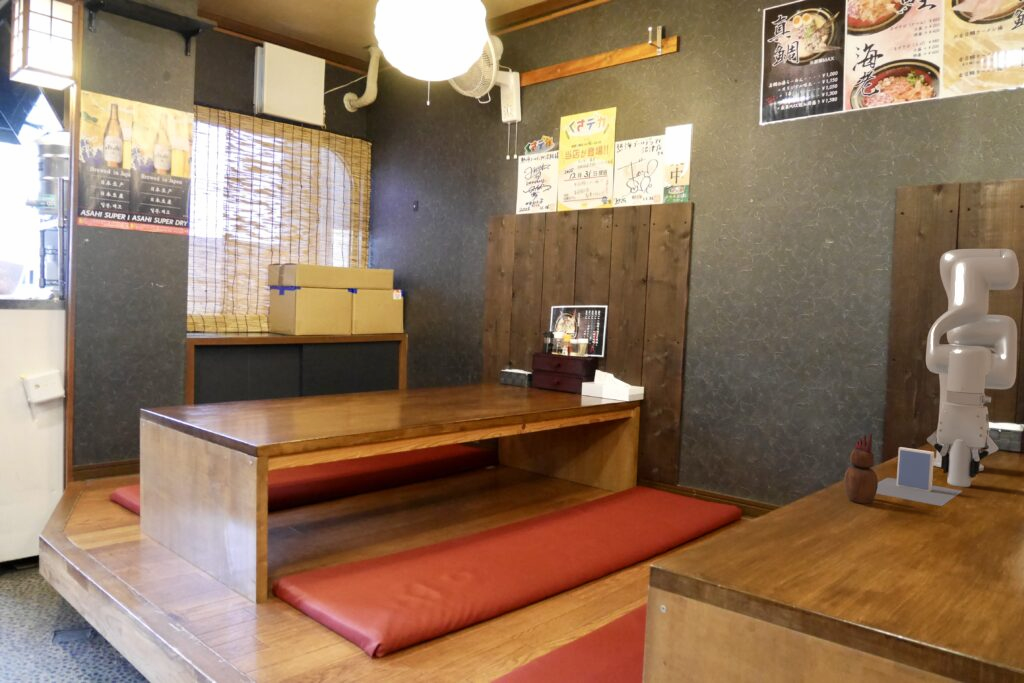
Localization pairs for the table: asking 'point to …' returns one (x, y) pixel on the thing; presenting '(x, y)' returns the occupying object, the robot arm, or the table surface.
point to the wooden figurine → (861, 473)
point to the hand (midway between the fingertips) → (959, 473)
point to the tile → (915, 469)
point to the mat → (916, 493)
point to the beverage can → (959, 464)
